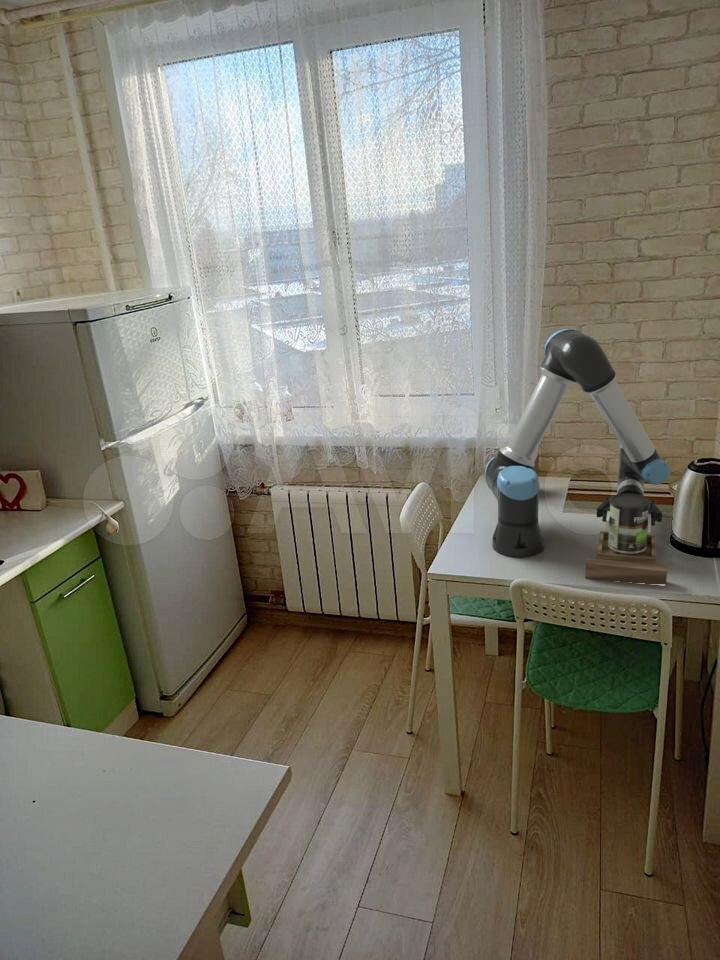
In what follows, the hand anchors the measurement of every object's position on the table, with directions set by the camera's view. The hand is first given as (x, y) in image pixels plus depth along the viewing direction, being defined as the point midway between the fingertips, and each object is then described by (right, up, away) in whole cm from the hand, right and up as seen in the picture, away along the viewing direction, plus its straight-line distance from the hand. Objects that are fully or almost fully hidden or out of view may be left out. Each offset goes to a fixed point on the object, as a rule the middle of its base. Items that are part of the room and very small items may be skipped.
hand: (628, 526), depth 195 cm
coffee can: (+2, -6, +7) cm, 9 cm away
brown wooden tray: (+2, -8, +7) cm, 11 cm away
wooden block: (-15, +8, +55) cm, 58 cm away
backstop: (-3, -14, -6) cm, 16 cm away
